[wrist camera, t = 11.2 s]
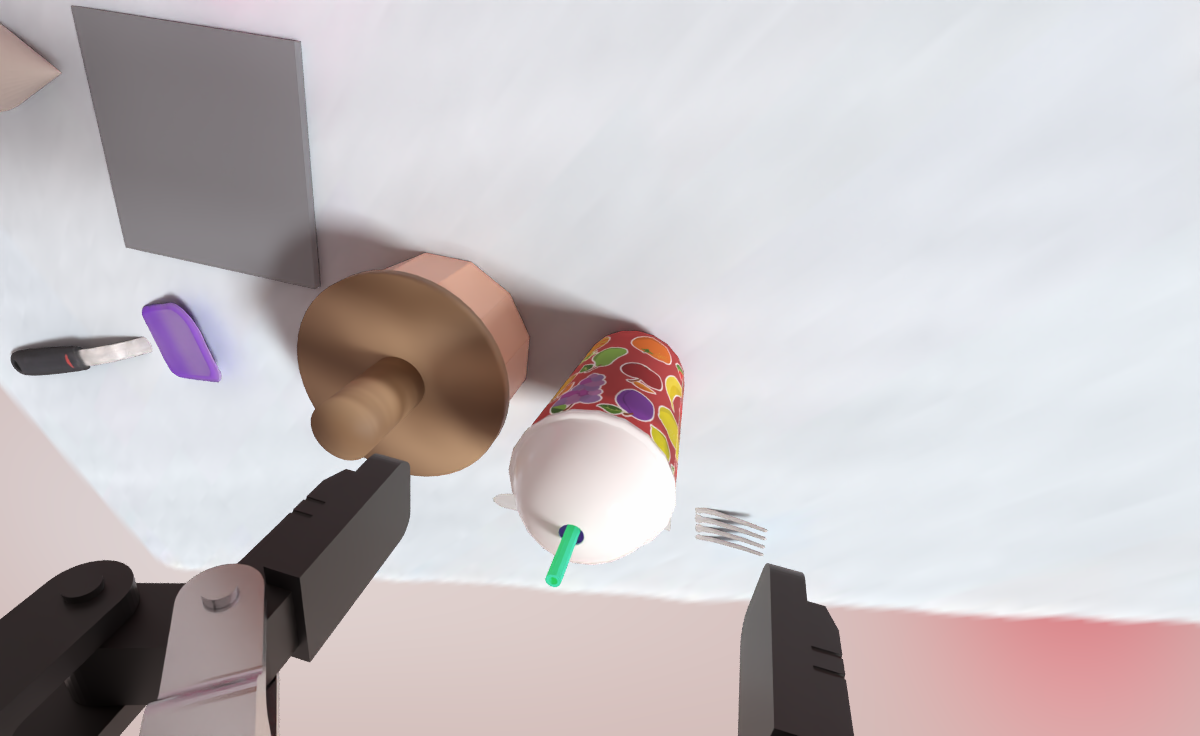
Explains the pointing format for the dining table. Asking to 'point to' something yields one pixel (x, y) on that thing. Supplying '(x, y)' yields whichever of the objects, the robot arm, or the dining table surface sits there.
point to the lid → (401, 373)
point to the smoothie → (603, 454)
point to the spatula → (133, 349)
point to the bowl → (480, 306)
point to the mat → (204, 142)
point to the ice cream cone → (20, 71)
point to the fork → (510, 503)
